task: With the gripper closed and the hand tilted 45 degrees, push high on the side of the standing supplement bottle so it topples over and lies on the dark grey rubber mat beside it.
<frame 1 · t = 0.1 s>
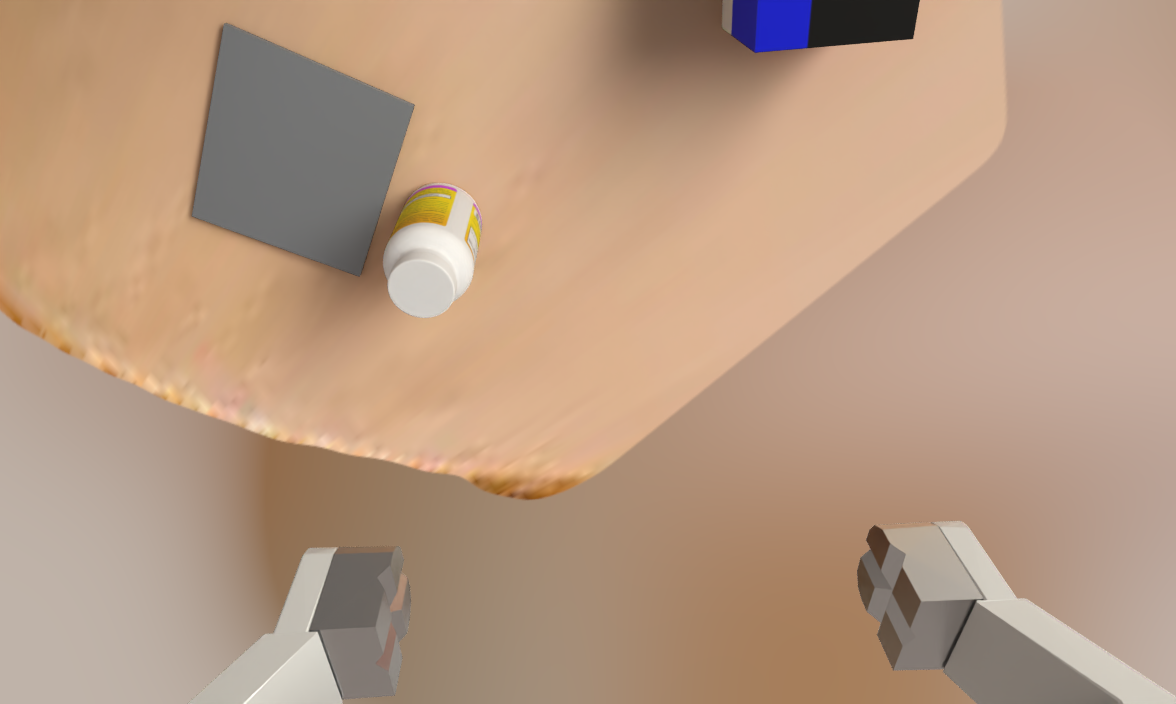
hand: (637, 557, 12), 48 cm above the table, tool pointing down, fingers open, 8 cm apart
supplement bottle: (444, 217, 59), on the table
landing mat: (300, 161, 56), on the table
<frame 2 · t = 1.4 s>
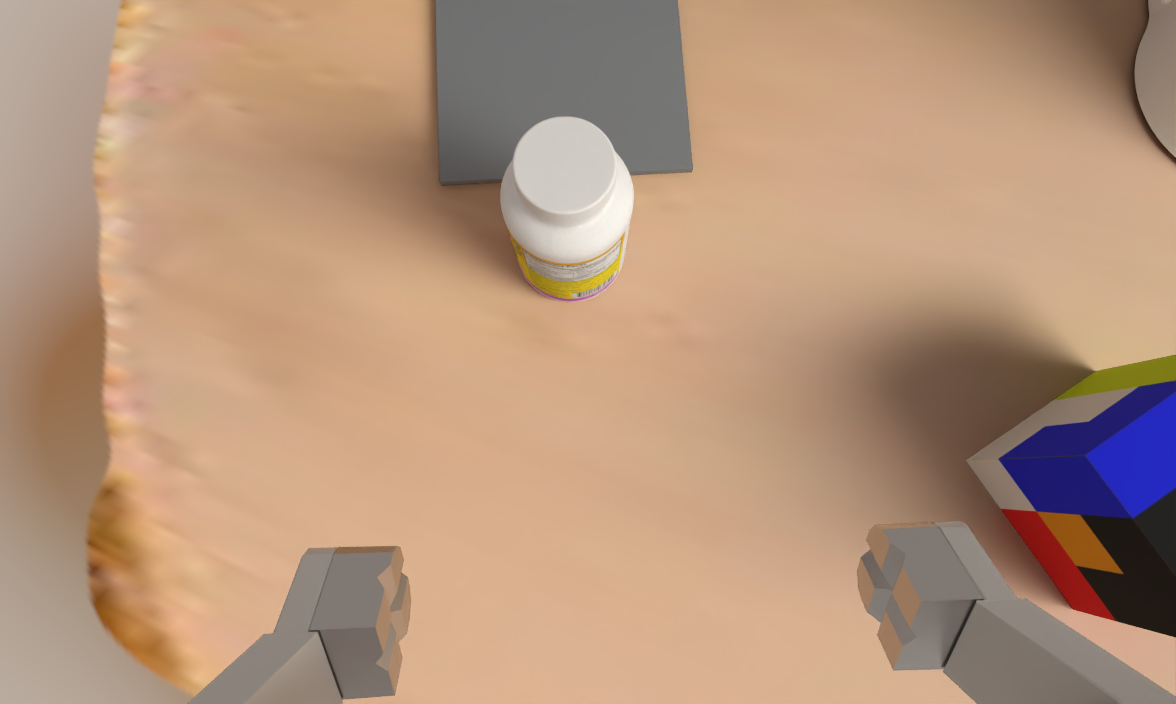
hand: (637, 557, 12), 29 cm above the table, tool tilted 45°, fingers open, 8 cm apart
puzzle toy: (1081, 486, 41), on the table
supplement bottle: (570, 255, 43), on the table
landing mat: (561, 78, 45), on the table
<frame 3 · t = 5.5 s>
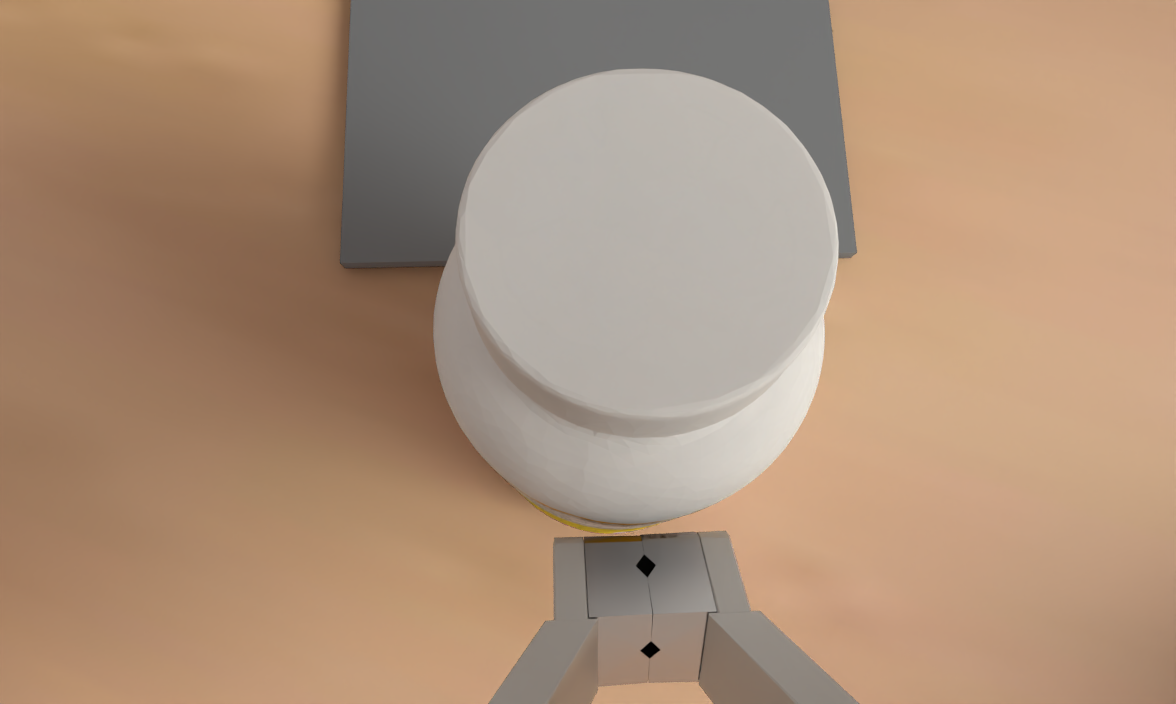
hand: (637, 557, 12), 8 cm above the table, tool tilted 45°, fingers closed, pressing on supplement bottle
supplement bottle: (606, 422, 21), on the table, touching gripper
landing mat: (593, 64, 23), on the table
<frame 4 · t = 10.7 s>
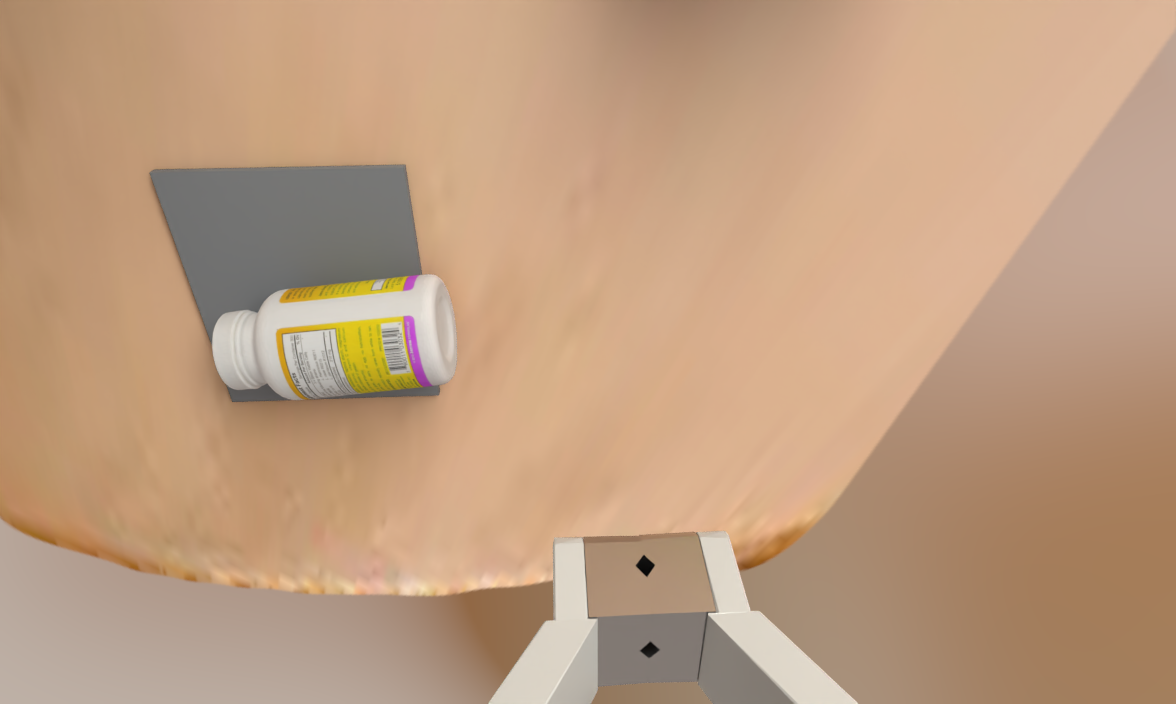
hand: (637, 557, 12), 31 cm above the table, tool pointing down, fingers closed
supplement bottle: (451, 328, 41), point 4 cm above the table, touching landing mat
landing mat: (312, 292, 43), on the table
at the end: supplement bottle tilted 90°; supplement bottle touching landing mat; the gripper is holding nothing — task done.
